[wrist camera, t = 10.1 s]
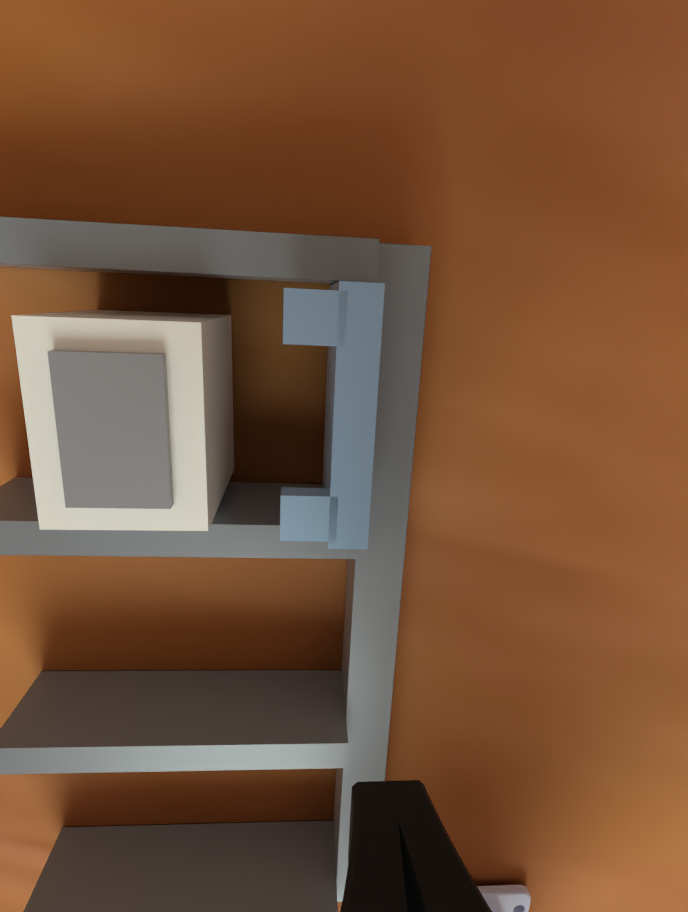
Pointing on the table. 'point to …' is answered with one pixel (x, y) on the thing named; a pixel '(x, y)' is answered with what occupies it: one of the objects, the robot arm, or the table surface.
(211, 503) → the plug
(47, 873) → the e-shaped shelf rack
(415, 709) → the table surface
